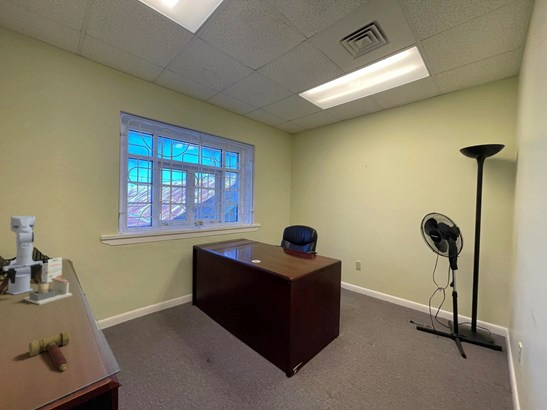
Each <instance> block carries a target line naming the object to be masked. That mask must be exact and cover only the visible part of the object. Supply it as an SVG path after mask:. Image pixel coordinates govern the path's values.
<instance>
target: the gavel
mask: <svg viewBox="0 0 547 410" xmlns="http://www.w3.org/2000/svg"><path fill="white" fill-rule="evenodd" d="M70 339H71V338H70V332H69V330H65V331H62V332H60V334H55V335H52V336H49V337H46V338H43V339H41V340H39V339H37V340H34V341H30V343H29V344H28V345H29V346H28V353H29V357H34V356H37V355H39V354H40V353H41V352H42V351H43V352H45V351H48V354H49V356H50V358H51V360H52V362H53V363H54V365H55V367H56V369H58V370H60V371H63V372H64V371H66V370H67V364H68V361H67V359H66V358H65V356H64V354H63V352H62V350H61V349H60V348H59V346H62V345H63V346H65V345H68V344H70Z"/></svg>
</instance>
